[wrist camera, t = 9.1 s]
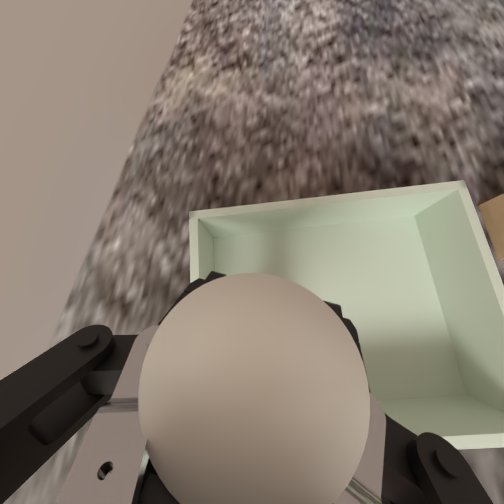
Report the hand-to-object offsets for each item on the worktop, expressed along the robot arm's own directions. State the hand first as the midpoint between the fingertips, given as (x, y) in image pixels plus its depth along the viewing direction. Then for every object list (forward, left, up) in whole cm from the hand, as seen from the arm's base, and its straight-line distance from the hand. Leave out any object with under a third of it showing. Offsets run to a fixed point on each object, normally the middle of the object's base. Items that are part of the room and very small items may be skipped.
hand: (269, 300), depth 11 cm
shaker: (+1, +2, -4) cm, 5 cm away
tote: (-4, +1, -8) cm, 9 cm away
